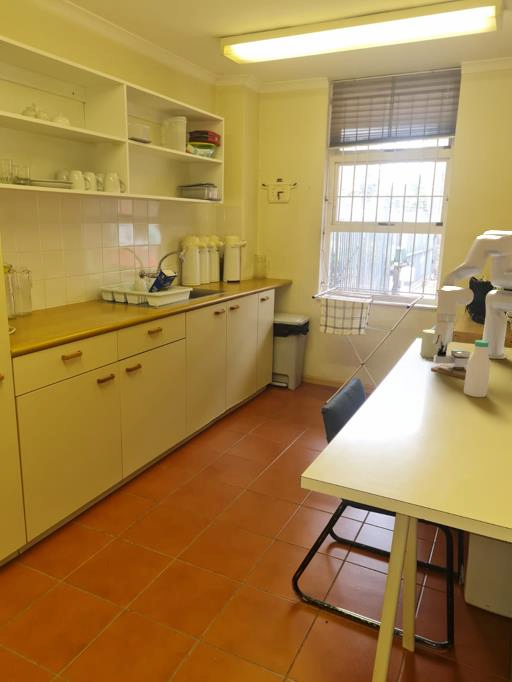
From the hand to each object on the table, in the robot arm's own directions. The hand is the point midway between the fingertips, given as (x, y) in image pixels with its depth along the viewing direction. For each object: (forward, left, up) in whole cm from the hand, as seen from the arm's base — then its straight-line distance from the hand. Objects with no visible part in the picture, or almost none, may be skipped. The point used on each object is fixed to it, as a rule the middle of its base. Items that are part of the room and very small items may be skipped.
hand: (441, 360), depth 216 cm
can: (-19, -17, -4) cm, 26 cm away
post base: (-3, +6, -4) cm, 8 cm away
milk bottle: (+20, +25, -4) cm, 33 cm away
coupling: (0, +4, -1) cm, 5 cm away
